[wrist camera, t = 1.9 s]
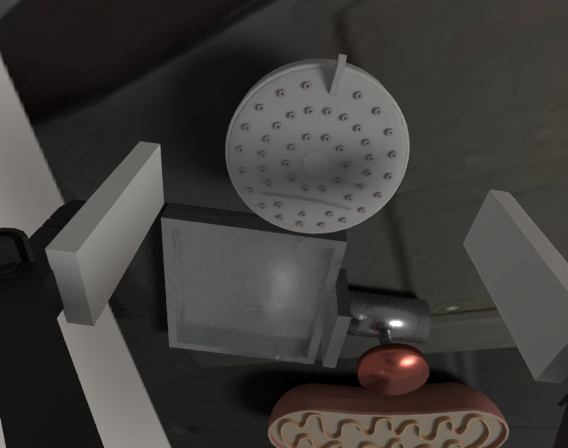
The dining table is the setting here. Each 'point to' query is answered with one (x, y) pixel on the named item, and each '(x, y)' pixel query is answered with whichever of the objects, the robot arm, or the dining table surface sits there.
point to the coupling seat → (282, 297)
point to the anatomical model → (386, 418)
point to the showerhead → (317, 146)
